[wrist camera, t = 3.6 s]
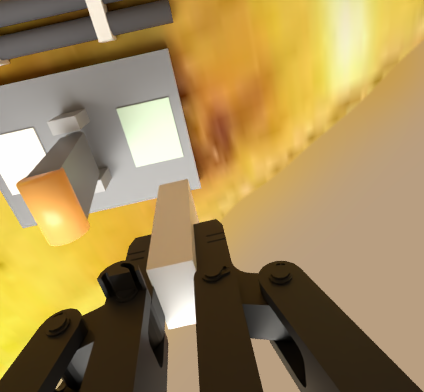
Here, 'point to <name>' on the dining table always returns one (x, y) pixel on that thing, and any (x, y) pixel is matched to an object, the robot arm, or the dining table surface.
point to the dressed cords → (73, 23)
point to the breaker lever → (62, 189)
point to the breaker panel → (100, 129)
